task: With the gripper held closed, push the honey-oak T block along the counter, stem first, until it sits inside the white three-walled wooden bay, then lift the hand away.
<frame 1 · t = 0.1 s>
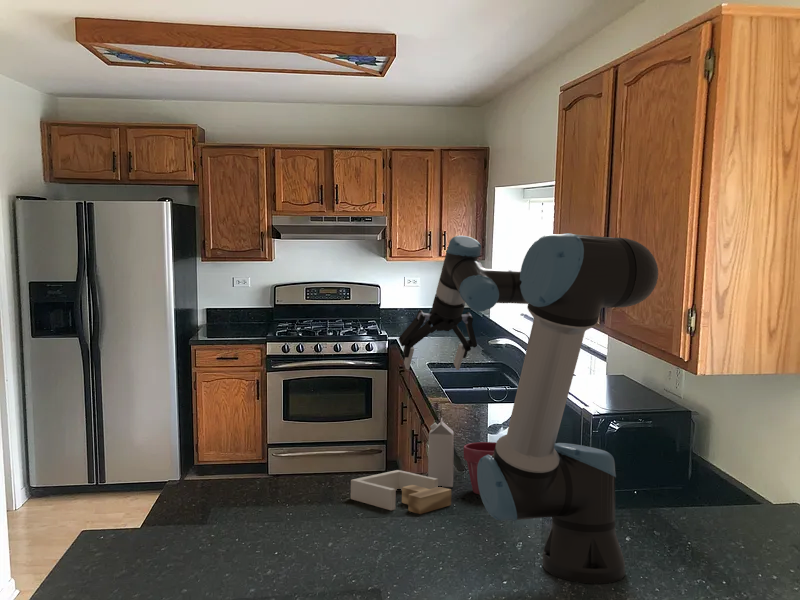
hand: (431, 366, 167), 36 cm above the counter, fingers open, 13 cm apart
tee: (430, 507, 165), on the counter
bay: (380, 494, 177), on the counter
plant pot: (488, 492, 182), on the counter
milk carton: (440, 485, 190), on the counter
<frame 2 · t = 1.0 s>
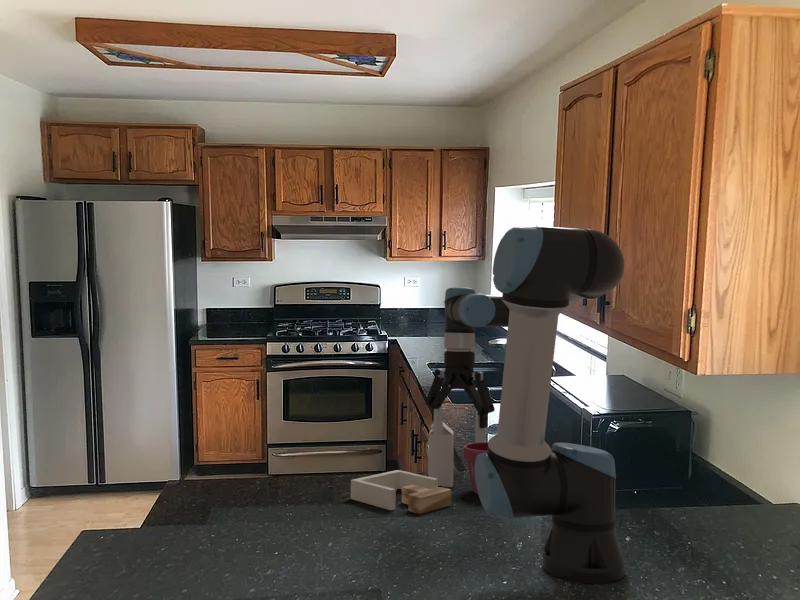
hand: (458, 438, 159), 19 cm above the counter, fingers open, 12 cm apart
nothing on the counter moved.
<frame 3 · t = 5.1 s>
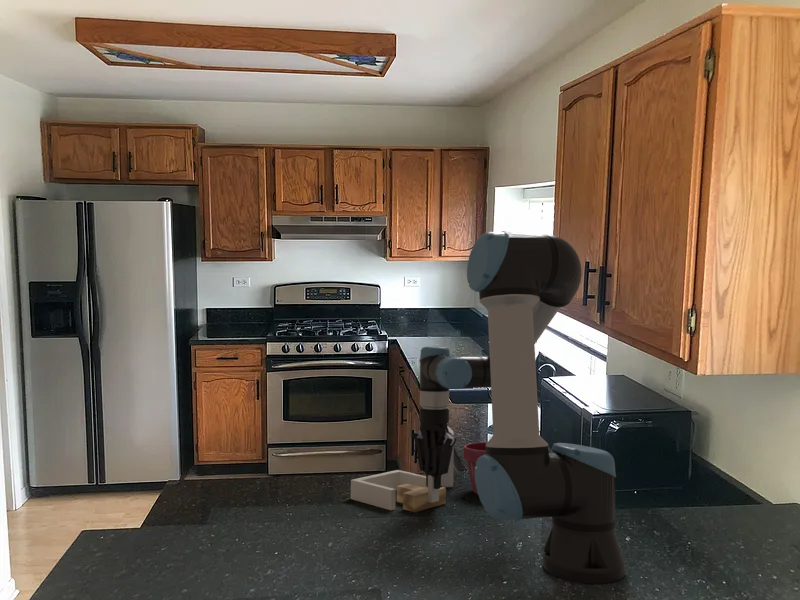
hand: (433, 500, 164), 2 cm above the counter, fingers closed
tee: (424, 506, 166), on the counter
everything else where it was.
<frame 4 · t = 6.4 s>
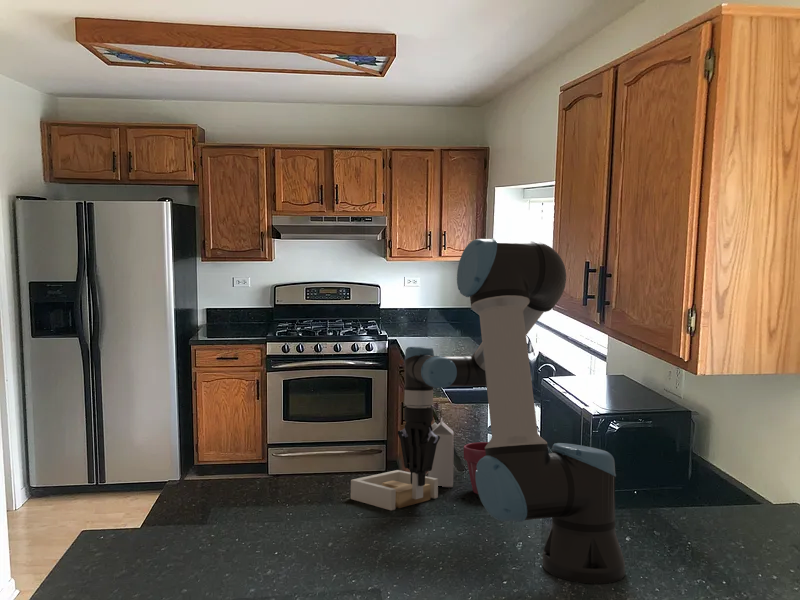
hand: (417, 497, 168), 2 cm above the counter, fingers closed
tee: (409, 502, 170), on the counter, touching gripper
everything else where it was.
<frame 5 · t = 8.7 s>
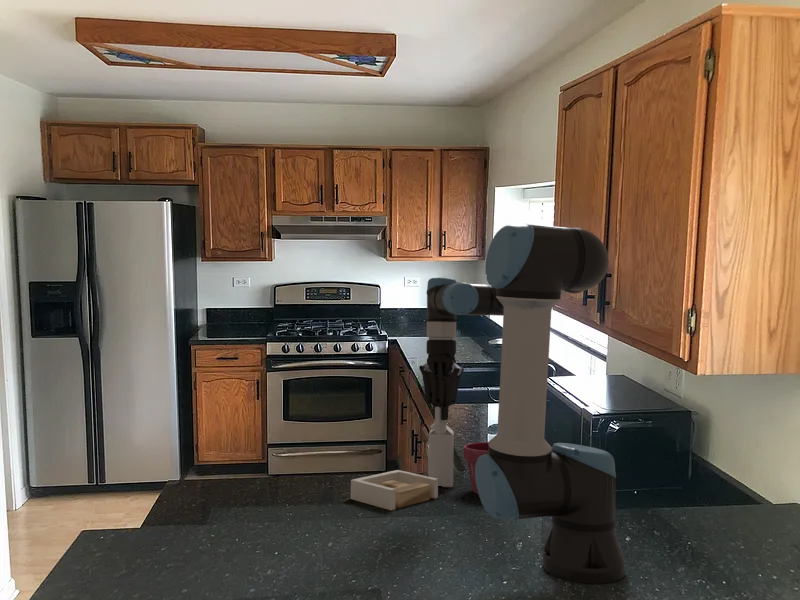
hand: (440, 432, 163), 19 cm above the counter, fingers closed
tee: (408, 502, 170), on the counter
everything else where it was.
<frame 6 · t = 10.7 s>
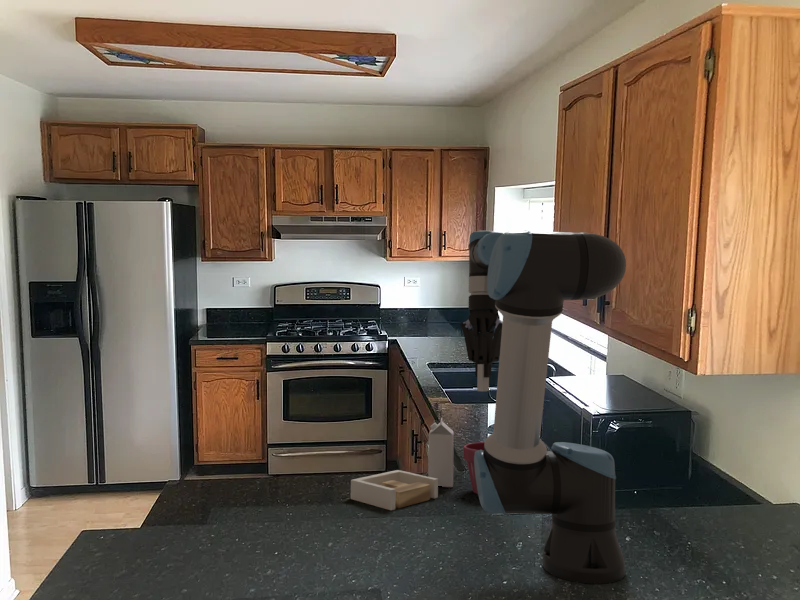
hand: (483, 390, 159), 30 cm above the counter, fingers closed
nothing on the counter moved.
at the end: tee inside the target area (1.6 cm from its centre), on the counter; tee moved 7.2 cm from its start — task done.
